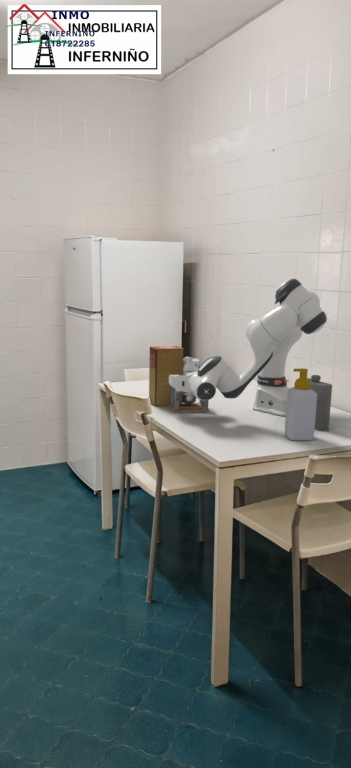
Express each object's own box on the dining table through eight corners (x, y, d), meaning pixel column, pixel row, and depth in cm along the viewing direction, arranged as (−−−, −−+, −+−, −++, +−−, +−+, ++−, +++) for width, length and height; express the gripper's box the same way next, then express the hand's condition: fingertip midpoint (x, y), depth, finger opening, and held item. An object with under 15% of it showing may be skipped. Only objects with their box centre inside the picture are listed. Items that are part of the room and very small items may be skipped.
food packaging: (175, 399, 259) (177, 345, 254) (183, 404, 251) (185, 348, 246) (147, 401, 254) (148, 346, 249) (155, 406, 246) (156, 349, 241)
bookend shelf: (208, 411, 240) (209, 392, 238) (174, 412, 237) (175, 392, 235) (203, 406, 249) (203, 387, 248) (170, 406, 247) (170, 387, 245)
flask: (294, 421, 228) (298, 372, 224) (306, 420, 230) (310, 371, 226) (319, 431, 215) (323, 379, 211) (331, 430, 217) (335, 378, 213)
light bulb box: (199, 377, 314) (200, 358, 311) (198, 380, 307) (199, 360, 305) (180, 376, 315) (180, 357, 312) (178, 379, 308) (179, 359, 306)
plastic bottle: (180, 404, 242) (179, 357, 241) (183, 402, 249) (182, 357, 248) (195, 404, 241) (194, 356, 240) (197, 403, 247) (197, 356, 247)
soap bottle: (283, 433, 210) (288, 366, 205) (307, 434, 211) (312, 367, 206) (289, 441, 201) (294, 371, 196) (314, 441, 202) (320, 371, 197)
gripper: (222, 375, 229) (214, 368, 242) (172, 375, 225) (166, 369, 239) (221, 390, 230) (213, 383, 244) (172, 391, 227) (166, 384, 240)
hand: (189, 376), depth 241 cm, fingers open, 8 cm apart
